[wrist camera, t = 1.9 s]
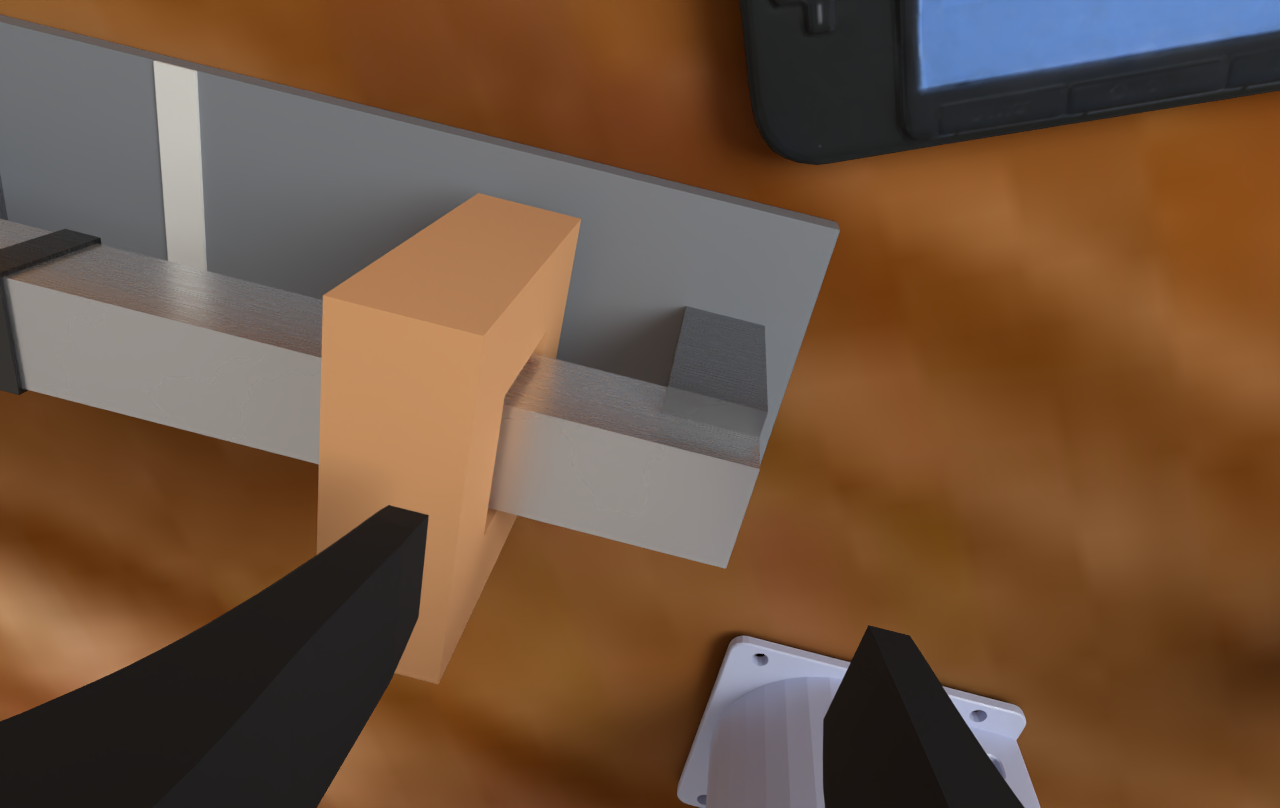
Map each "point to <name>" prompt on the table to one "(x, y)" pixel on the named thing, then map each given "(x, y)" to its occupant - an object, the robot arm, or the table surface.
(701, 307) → the board
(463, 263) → the collar
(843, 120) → the handheld game console
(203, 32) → the table surface
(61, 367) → the grey rail plate
